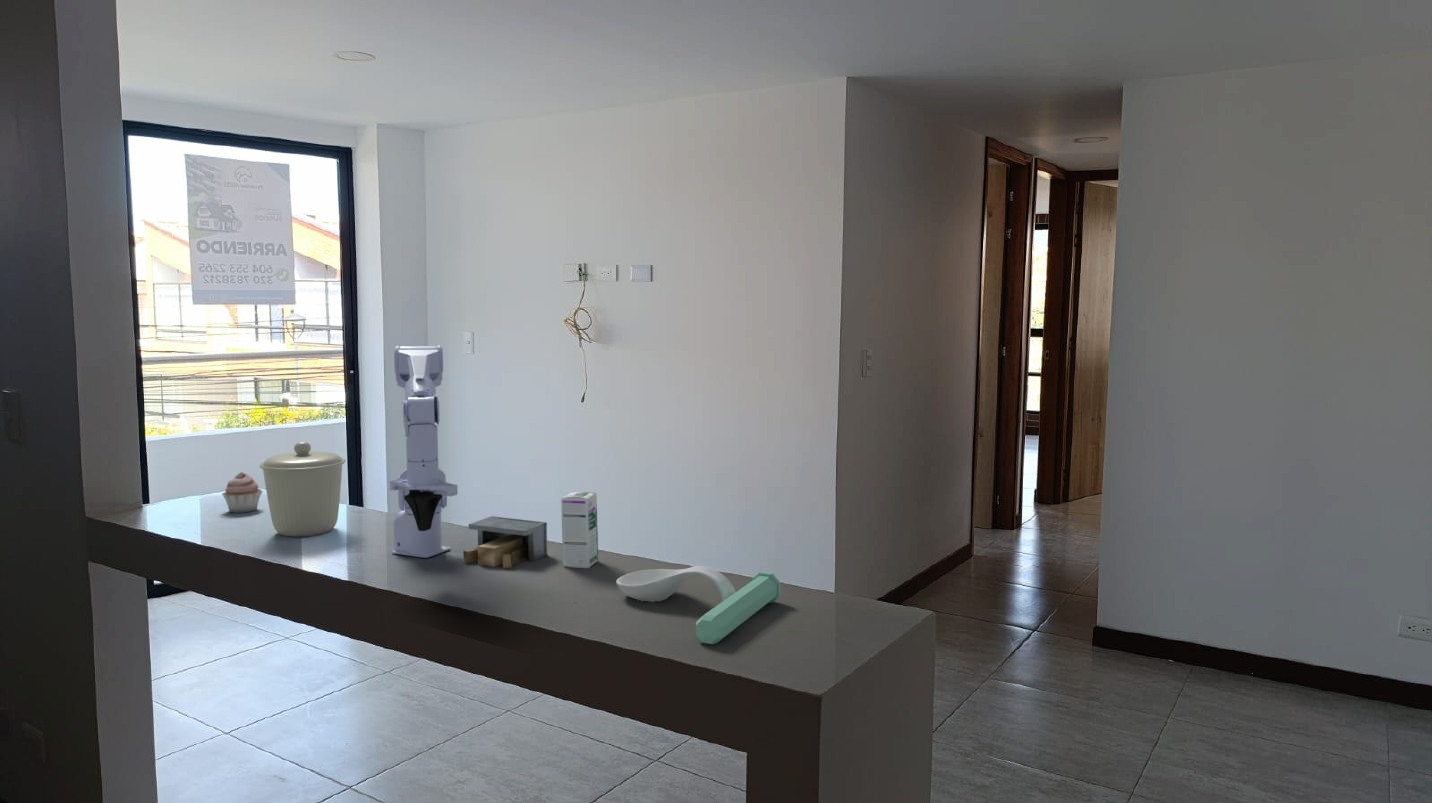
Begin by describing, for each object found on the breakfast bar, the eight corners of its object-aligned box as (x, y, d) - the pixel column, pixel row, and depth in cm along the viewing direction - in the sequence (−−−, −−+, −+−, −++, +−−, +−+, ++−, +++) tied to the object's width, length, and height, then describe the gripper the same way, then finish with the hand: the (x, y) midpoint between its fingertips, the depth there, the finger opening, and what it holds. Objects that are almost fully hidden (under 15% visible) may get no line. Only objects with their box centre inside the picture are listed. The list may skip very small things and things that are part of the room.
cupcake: (221, 516, 234) (218, 476, 233) (224, 508, 243) (222, 470, 242) (262, 512, 238) (260, 473, 237) (264, 505, 247) (262, 467, 246)
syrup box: (589, 568, 190) (588, 497, 188) (561, 566, 191) (560, 496, 190) (598, 561, 195) (598, 492, 194) (571, 559, 197) (570, 490, 195)
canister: (356, 534, 216) (353, 443, 214) (270, 545, 206) (265, 450, 204) (337, 519, 231) (334, 434, 229) (256, 529, 221) (252, 440, 219)
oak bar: (478, 565, 193) (477, 546, 192) (507, 553, 202) (507, 535, 201) (494, 567, 191) (493, 548, 191) (523, 555, 200) (522, 537, 200)
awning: (456, 561, 194) (455, 528, 194) (492, 547, 205) (492, 516, 205) (513, 569, 189) (512, 535, 188) (547, 554, 200) (546, 522, 199)
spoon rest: (603, 601, 170) (603, 562, 170) (641, 584, 181) (640, 547, 180) (717, 623, 159) (717, 582, 158) (750, 604, 169) (750, 565, 168)
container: (714, 610, 146) (775, 567, 169) (682, 619, 149) (747, 575, 171) (727, 647, 146) (786, 598, 169) (695, 655, 149) (758, 606, 171)
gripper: (377, 460, 178) (379, 530, 180) (439, 465, 172) (441, 538, 174) (403, 454, 185) (405, 522, 186) (463, 459, 179) (465, 530, 180)
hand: (424, 529), depth 180 cm, fingers closed
